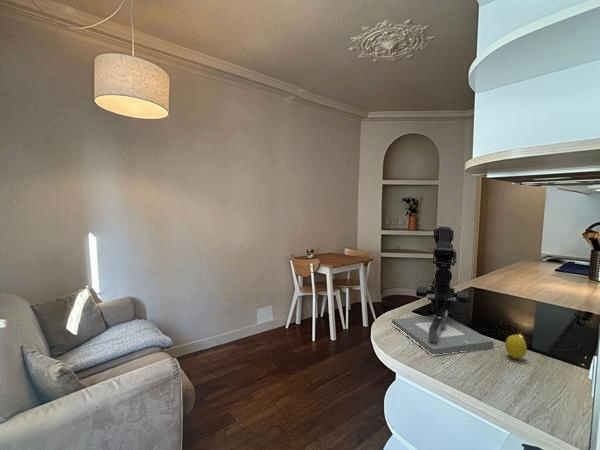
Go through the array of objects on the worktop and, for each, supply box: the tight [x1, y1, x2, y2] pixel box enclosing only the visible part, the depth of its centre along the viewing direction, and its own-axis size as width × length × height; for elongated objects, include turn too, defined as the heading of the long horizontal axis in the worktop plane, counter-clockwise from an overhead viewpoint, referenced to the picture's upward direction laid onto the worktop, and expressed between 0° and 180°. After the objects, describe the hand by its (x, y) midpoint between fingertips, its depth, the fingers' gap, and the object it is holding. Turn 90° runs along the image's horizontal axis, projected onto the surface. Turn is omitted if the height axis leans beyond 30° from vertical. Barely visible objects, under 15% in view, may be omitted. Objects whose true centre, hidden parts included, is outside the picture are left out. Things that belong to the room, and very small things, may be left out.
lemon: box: [504, 333, 528, 360], centre depth 94 cm, size 6×6×8 cm
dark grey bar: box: [429, 305, 449, 342], centre depth 109 cm, size 27×4×4 cm, turn 147°
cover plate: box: [391, 314, 494, 354], centre depth 110 cm, size 24×24×3 cm
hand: (440, 315), depth 120 cm, fingers open, 3 cm apart
